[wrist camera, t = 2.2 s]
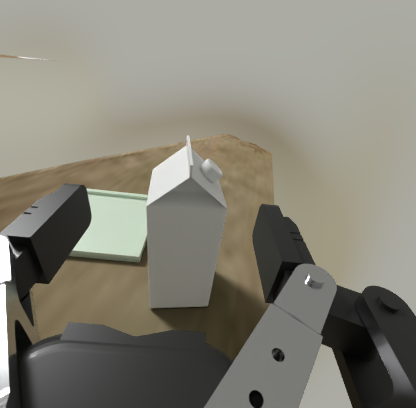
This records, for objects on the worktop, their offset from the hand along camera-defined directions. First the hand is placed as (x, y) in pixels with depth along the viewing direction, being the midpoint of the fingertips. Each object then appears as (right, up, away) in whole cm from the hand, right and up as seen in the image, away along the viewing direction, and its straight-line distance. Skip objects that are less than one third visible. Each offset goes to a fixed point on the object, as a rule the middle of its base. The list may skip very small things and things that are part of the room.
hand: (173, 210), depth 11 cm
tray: (-16, -3, +29) cm, 33 cm away
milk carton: (-2, -11, +21) cm, 23 cm away
